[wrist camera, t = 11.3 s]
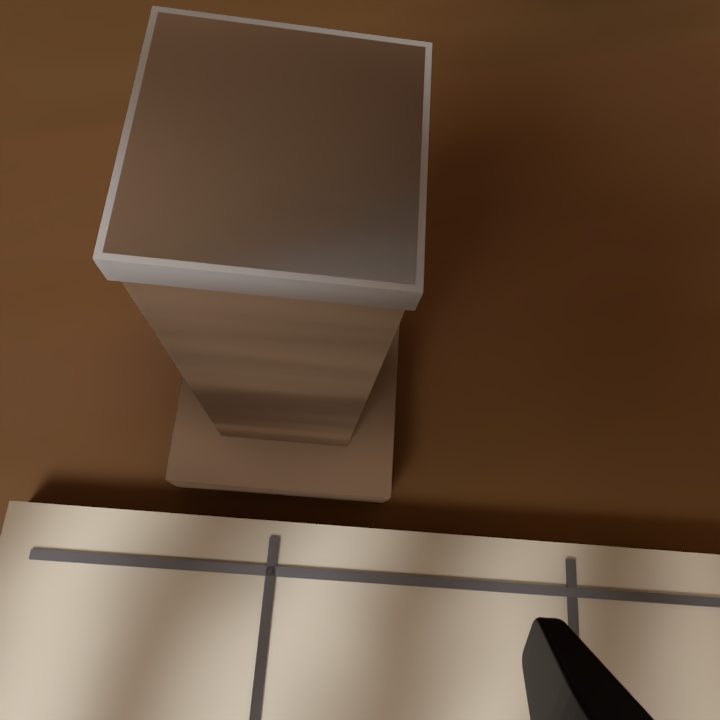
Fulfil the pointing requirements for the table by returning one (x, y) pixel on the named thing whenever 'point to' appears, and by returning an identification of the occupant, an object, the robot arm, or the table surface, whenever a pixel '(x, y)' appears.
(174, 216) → the square column stand
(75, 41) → the table surface
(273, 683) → the ash board
